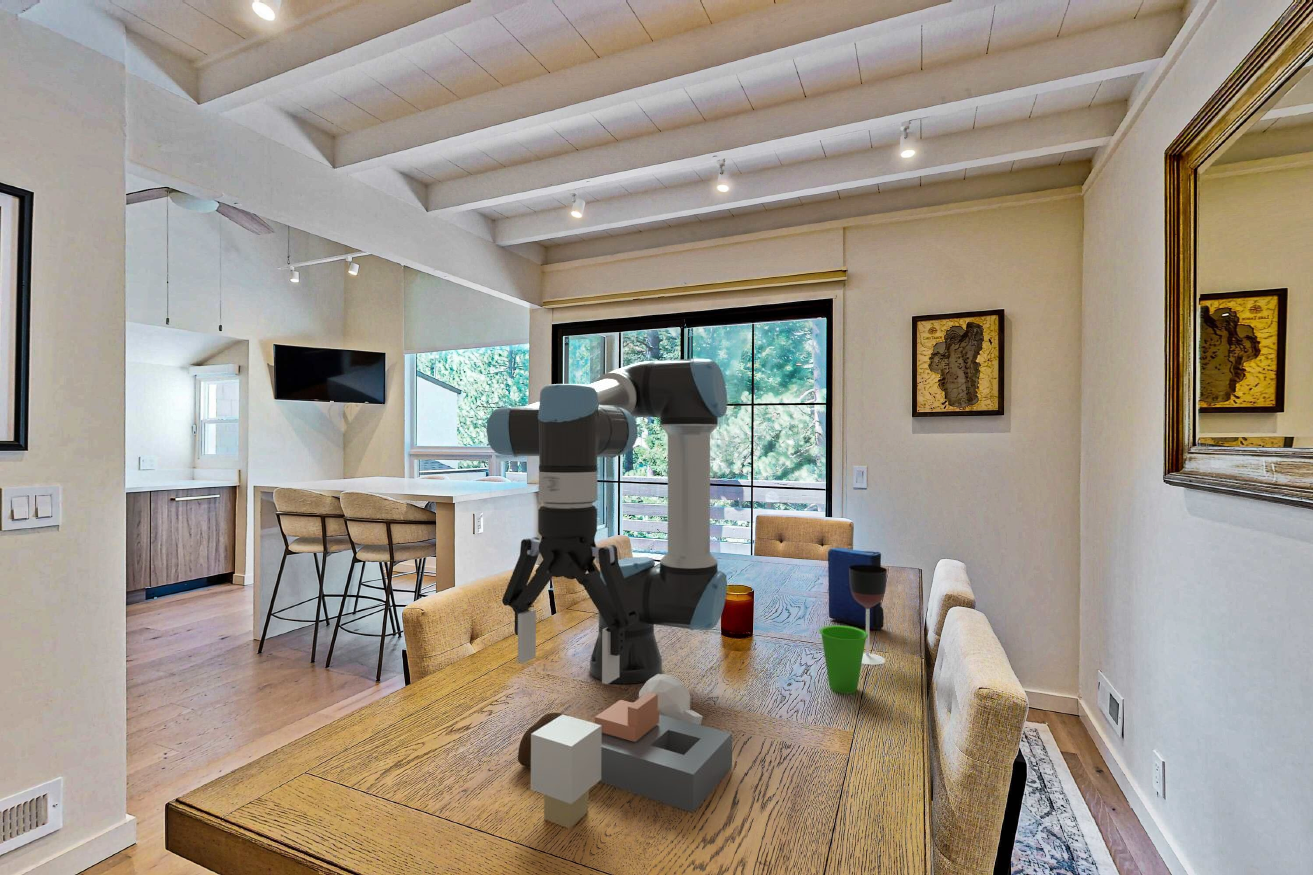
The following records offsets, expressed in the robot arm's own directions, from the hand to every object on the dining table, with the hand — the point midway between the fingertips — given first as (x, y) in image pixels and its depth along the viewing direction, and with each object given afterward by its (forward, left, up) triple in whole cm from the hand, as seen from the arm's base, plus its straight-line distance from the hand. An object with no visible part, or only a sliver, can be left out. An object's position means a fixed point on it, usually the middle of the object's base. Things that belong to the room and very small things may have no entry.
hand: (566, 669), depth 79 cm
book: (+15, +104, -19) cm, 107 cm away
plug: (0, 0, -19) cm, 19 cm away
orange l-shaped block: (0, +15, -13) cm, 20 cm away
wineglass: (+23, +79, -19) cm, 84 cm away
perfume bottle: (0, +27, -19) cm, 33 cm away
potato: (-10, +10, -19) cm, 24 cm away
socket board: (+5, +15, -19) cm, 24 cm away
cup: (+22, +59, -19) cm, 66 cm away
